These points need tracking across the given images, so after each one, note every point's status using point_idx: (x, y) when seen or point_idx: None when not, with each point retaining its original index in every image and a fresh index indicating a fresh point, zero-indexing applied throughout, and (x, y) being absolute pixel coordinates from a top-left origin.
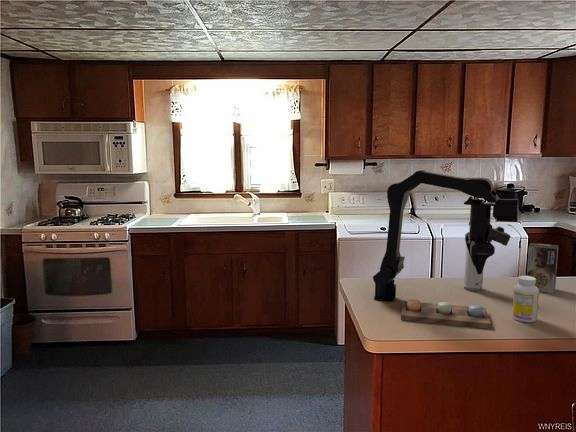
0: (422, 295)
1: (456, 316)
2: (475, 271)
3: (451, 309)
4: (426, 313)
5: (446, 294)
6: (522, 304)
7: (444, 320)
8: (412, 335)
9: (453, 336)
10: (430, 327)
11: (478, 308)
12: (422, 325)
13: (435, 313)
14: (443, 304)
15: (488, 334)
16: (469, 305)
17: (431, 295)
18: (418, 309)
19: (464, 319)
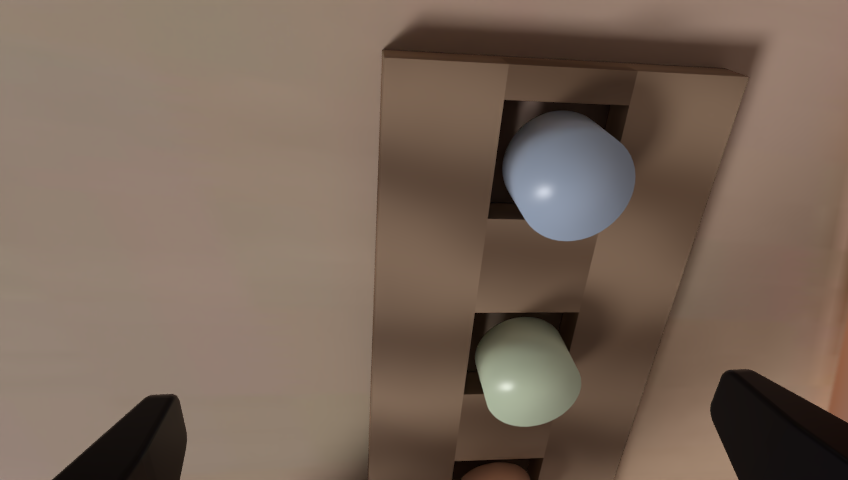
0: None
1: (608, 291)
2: None
3: (474, 314)
4: (566, 435)
5: (12, 308)
6: None
7: (652, 349)
8: None
9: (812, 296)
10: (685, 392)
11: (612, 174)
12: (658, 423)
13: None
14: (539, 396)
15: (815, 101)
16: (544, 235)
17: (100, 398)
18: (524, 476)
19: (661, 248)
